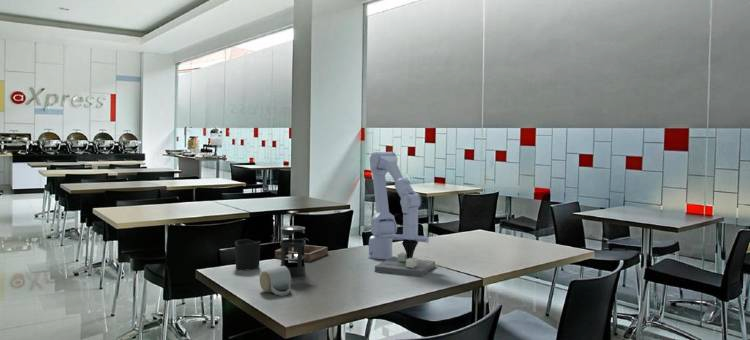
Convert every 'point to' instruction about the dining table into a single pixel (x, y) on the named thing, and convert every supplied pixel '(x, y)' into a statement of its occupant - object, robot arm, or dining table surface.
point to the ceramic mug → (276, 280)
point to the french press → (293, 267)
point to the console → (404, 267)
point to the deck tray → (311, 254)
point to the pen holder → (247, 254)
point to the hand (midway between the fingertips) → (409, 259)
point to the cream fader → (411, 262)
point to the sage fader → (402, 257)
